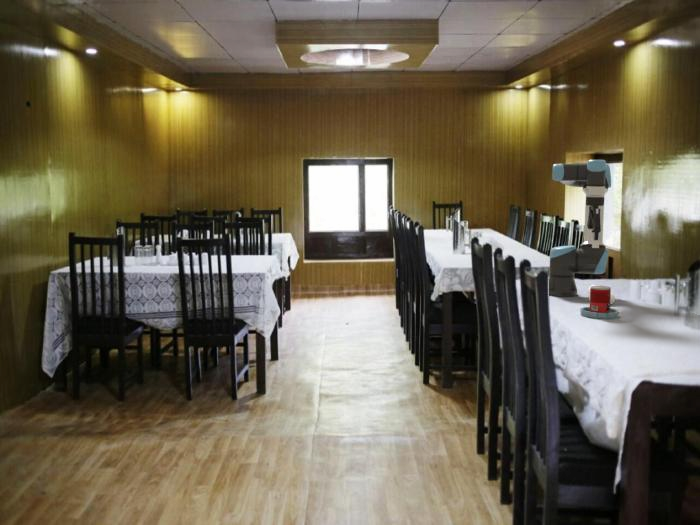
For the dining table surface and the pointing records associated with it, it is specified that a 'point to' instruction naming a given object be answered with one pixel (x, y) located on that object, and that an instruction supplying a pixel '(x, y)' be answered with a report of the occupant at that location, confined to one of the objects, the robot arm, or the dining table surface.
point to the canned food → (600, 299)
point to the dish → (586, 312)
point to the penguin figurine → (612, 297)
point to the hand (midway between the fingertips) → (592, 245)
